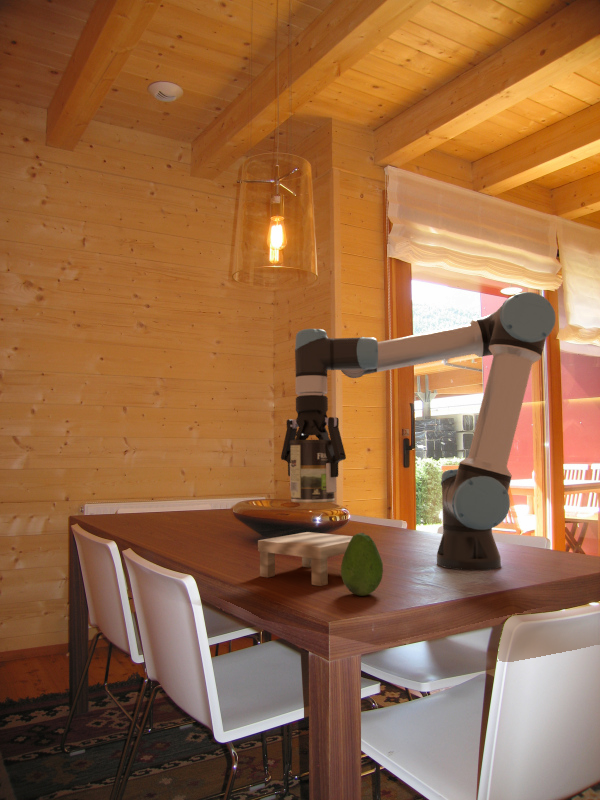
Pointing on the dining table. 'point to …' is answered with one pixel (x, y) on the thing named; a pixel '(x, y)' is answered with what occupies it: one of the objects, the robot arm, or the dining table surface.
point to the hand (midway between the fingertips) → (312, 491)
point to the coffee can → (309, 471)
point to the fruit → (361, 565)
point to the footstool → (303, 552)
